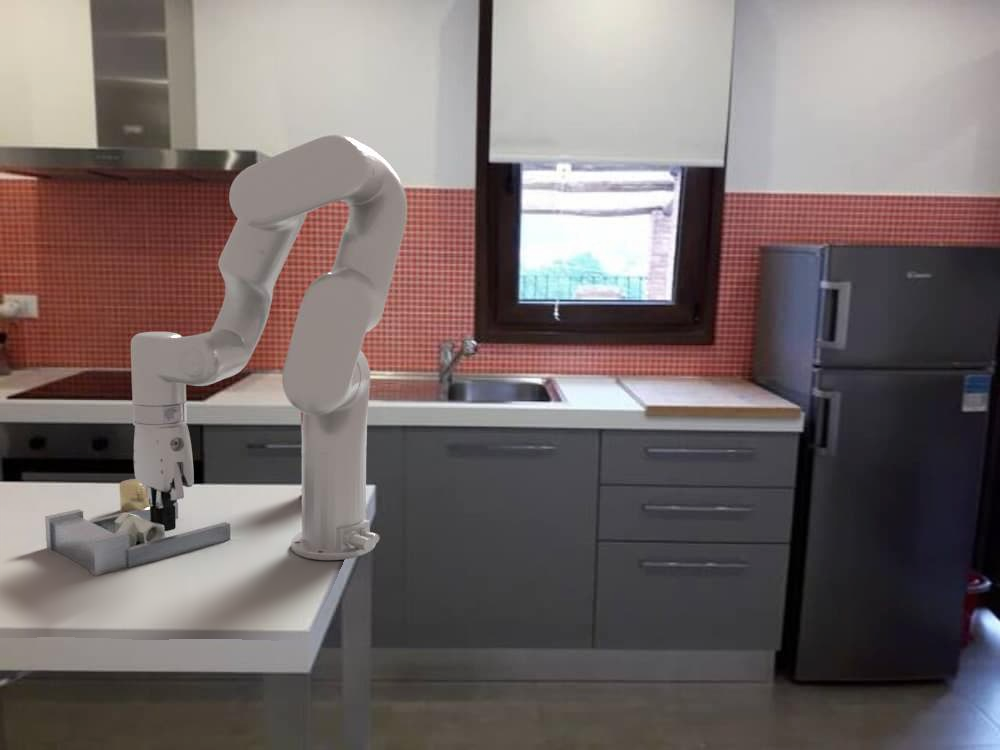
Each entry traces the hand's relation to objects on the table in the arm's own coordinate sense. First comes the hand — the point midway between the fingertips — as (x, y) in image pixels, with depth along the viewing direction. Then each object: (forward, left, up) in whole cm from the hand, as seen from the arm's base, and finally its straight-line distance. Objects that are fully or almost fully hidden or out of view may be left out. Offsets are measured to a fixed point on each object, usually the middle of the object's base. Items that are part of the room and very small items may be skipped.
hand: (163, 529), depth 126 cm
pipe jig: (0, +4, -1) cm, 4 cm away
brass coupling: (+15, -3, -1) cm, 15 cm away
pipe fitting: (+1, +5, -2) cm, 5 cm away
